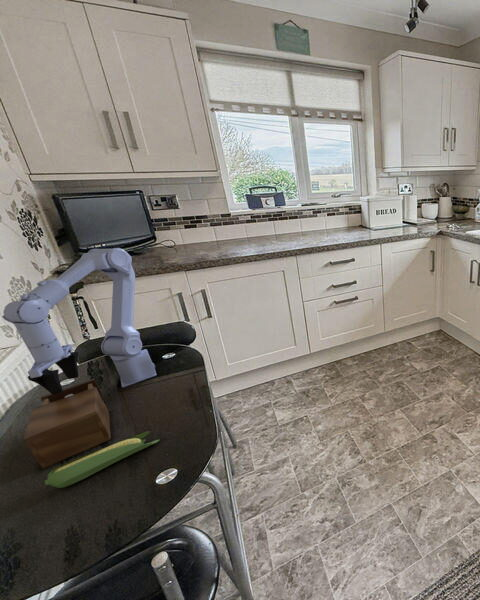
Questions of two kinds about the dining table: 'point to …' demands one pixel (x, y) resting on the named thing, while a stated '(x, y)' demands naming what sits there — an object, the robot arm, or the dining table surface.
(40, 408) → the cabinet
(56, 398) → the drawer
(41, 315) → the robot arm
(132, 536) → the dining table surface
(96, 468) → the edible corn
